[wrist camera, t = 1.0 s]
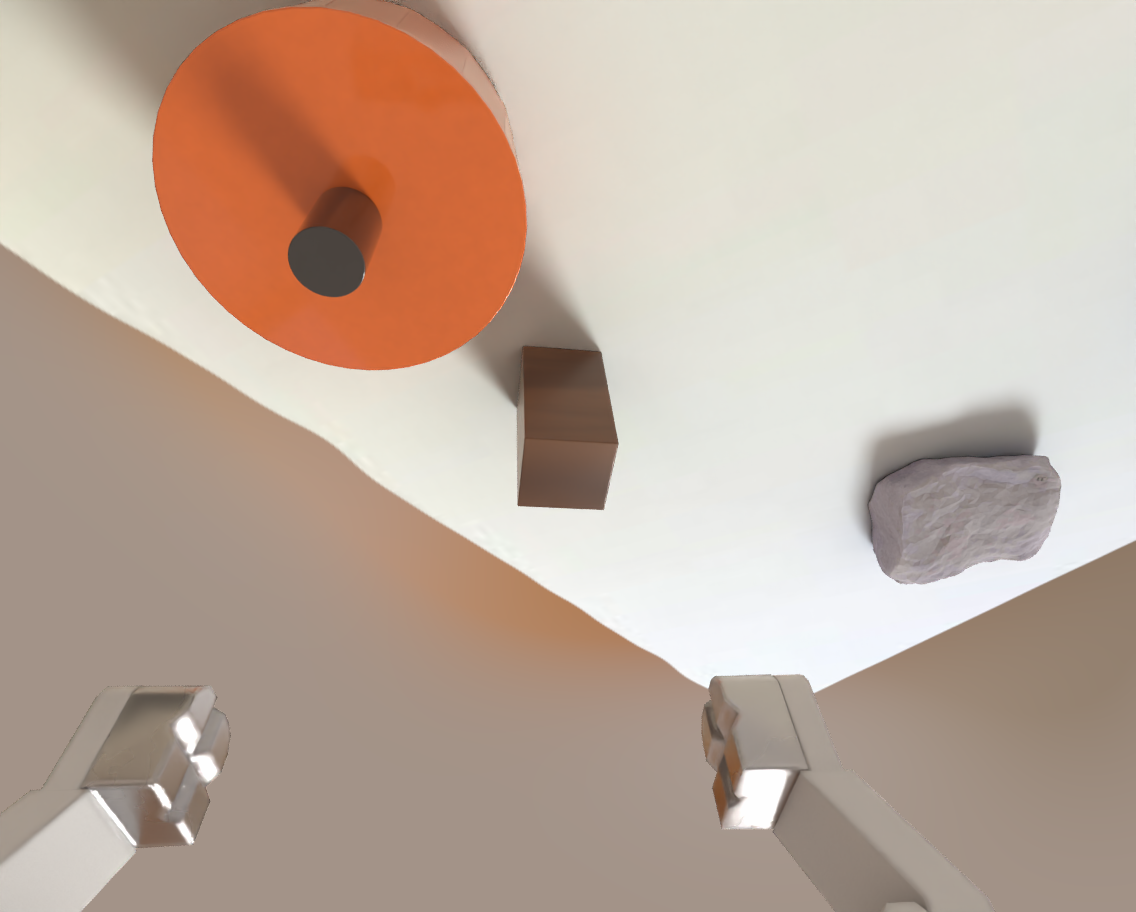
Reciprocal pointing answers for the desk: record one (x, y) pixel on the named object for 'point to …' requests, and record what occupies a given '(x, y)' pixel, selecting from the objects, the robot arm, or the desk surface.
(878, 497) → the stone block
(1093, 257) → the desk surface
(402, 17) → the pan
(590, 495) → the block
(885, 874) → the robot arm
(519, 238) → the pan lid
